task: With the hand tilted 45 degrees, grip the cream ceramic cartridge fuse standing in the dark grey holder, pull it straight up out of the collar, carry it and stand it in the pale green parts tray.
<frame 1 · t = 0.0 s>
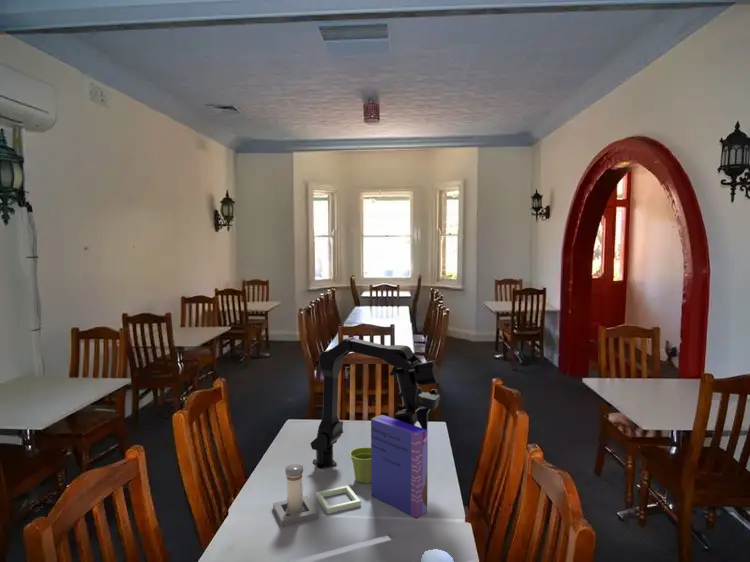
hand: (420, 436, 162), 15 cm above the table, tool pointing down, fingers open, 9 cm apart
parts tray: (338, 504, 152), on the table
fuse: (295, 512, 146), point 1 cm above the table, touching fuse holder
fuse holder: (295, 516, 146), on the table
plant pot: (364, 479, 167), on the table
cereal box: (398, 504, 152), on the table
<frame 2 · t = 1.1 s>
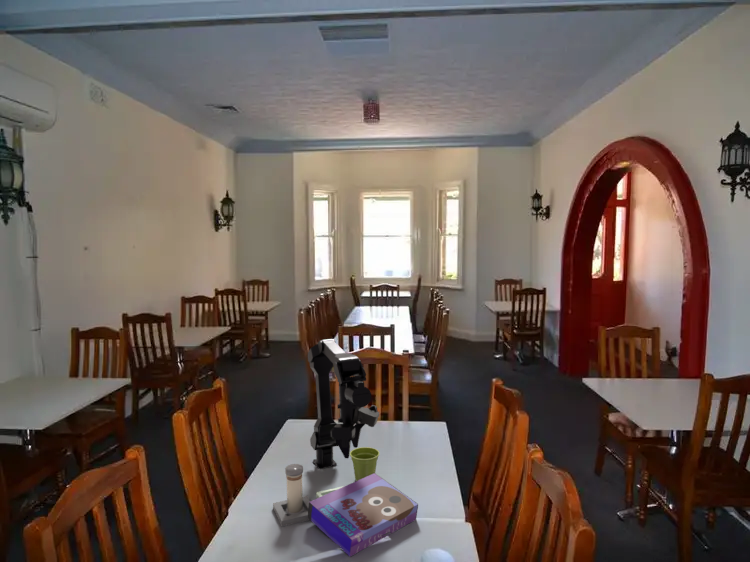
hand: (351, 452, 154), 14 cm above the table, tool pointing down, fingers open, 9 cm apart
cereal box: (395, 495, 150), point 4 cm above the table, touching parts tray
everything else where it was.
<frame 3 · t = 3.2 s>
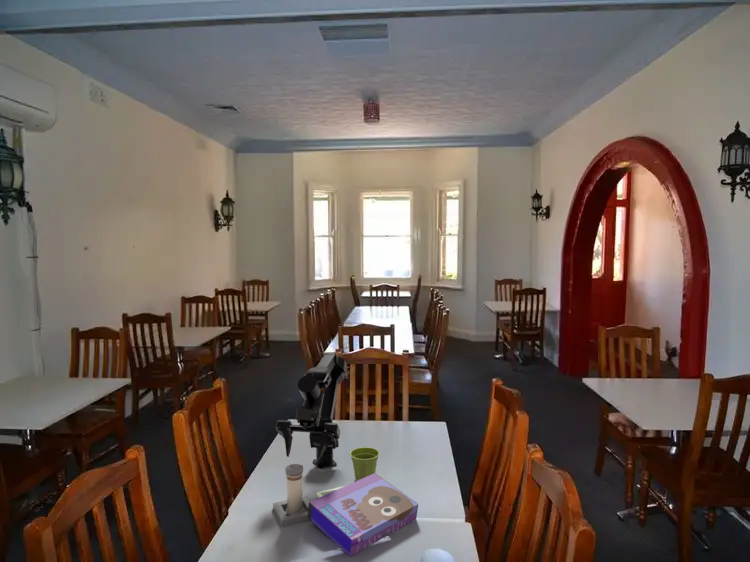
hand: (302, 457, 153), 13 cm above the table, tool tilted 45°, fingers open, 9 cm apart
nothing on the table moved.
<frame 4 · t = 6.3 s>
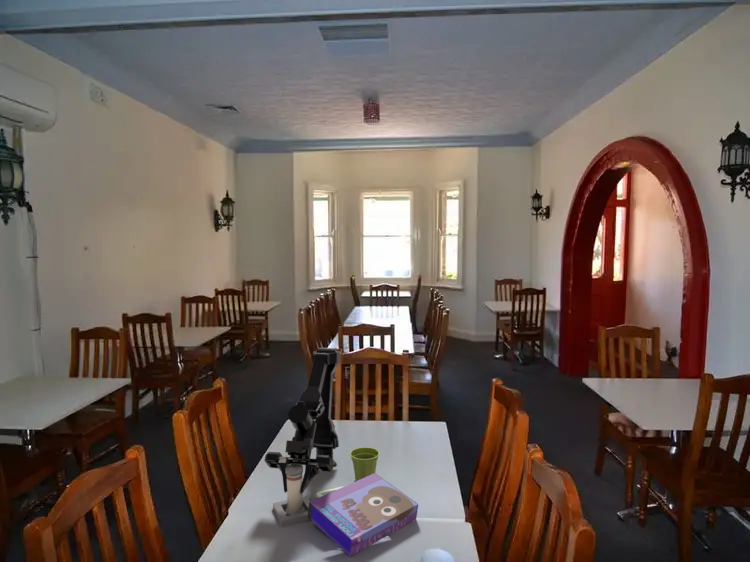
hand: (293, 492, 144), 8 cm above the table, tool tilted 45°, fingers closed on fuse, 4 cm apart
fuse: (295, 512, 146), point 1 cm above the table, touching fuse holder, gripper
everything else where it was.
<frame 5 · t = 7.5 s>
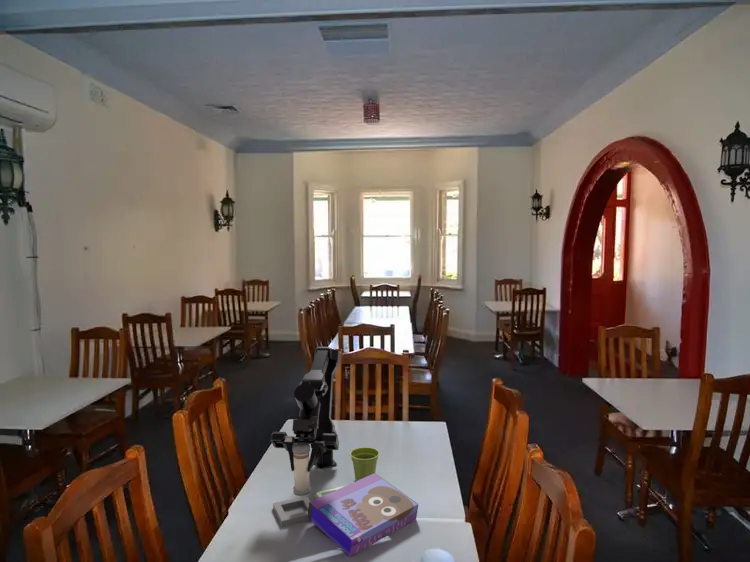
hand: (300, 471, 144), 13 cm above the table, tool tilted 45°, fingers closed on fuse, 4 cm apart
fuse: (302, 491, 146), point 7 cm above the table, touching gripper
everything else where it was.
when the fingers open (9 cm above the table, at t = 9.2 s): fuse drops 2 cm, resting on parts tray.
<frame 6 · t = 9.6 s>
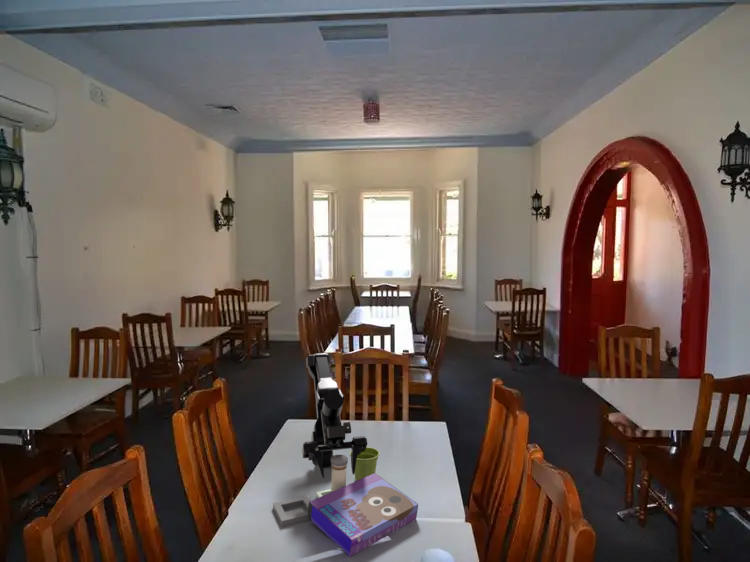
hand: (338, 475, 150), 9 cm above the table, tool tilted 45°, fingers open, 8 cm apart
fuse: (338, 501, 152), point 1 cm above the table, touching parts tray
everything else where it was.
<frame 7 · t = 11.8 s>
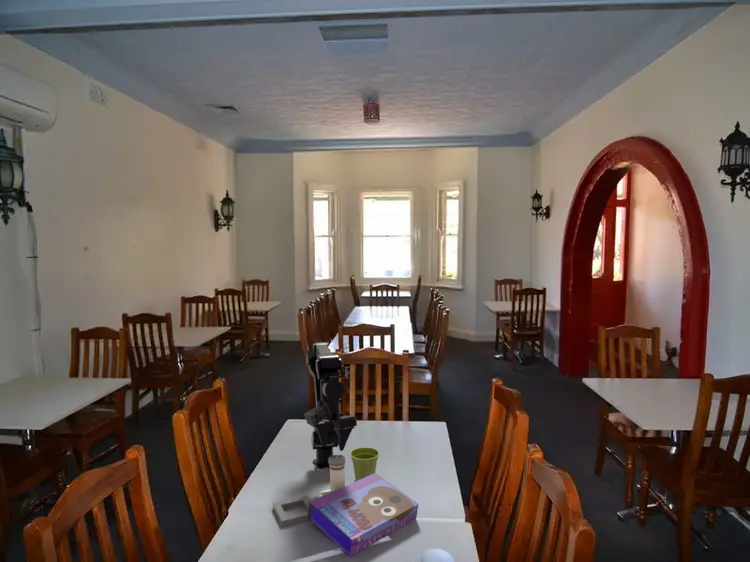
hand: (332, 448, 160), 13 cm above the table, tool pointing down, fingers open, 9 cm apart
nothing on the table moved.
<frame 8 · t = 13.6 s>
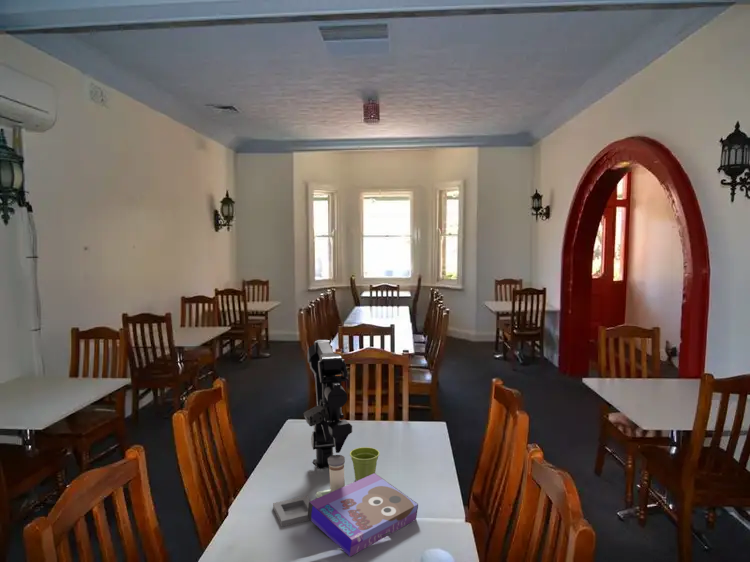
hand: (332, 446, 161), 13 cm above the table, tool pointing down, fingers open, 9 cm apart
nothing on the table moved.
at the end: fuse inside the target area on the parts tray (0.1 cm from its centre), point 0.9 cm above the parts tray's base; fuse tilted 2°; the gripper is holding nothing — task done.
